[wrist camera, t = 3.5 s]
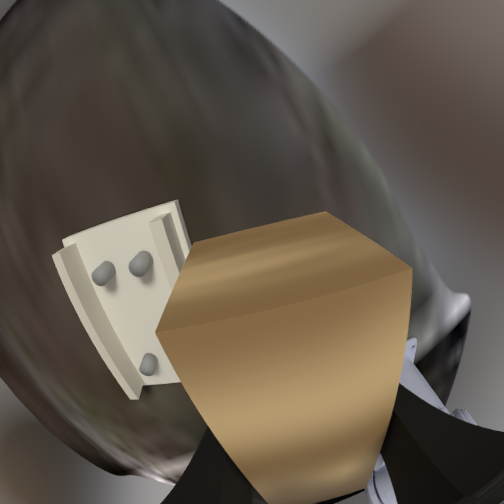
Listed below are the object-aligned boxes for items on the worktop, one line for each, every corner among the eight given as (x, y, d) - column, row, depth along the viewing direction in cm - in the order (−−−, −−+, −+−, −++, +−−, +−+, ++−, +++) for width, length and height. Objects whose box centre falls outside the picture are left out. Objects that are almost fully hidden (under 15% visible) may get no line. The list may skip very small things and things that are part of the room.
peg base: (233, 366, 21) (233, 393, 18) (138, 378, 21) (129, 403, 18) (177, 199, 17) (165, 208, 14) (68, 236, 17) (45, 249, 14)
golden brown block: (341, 419, 13) (366, 487, 8) (265, 437, 13) (274, 510, 8) (325, 211, 9) (412, 268, 4) (193, 242, 9) (155, 332, 4)
